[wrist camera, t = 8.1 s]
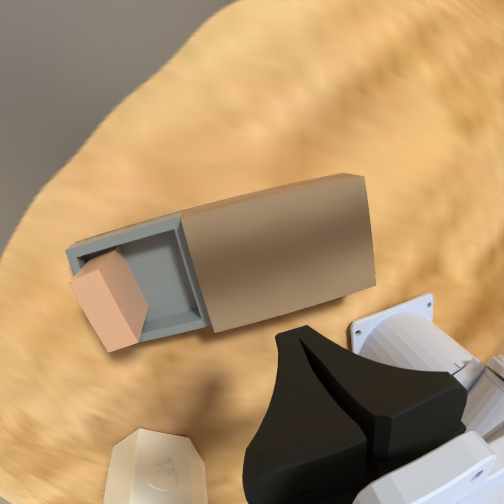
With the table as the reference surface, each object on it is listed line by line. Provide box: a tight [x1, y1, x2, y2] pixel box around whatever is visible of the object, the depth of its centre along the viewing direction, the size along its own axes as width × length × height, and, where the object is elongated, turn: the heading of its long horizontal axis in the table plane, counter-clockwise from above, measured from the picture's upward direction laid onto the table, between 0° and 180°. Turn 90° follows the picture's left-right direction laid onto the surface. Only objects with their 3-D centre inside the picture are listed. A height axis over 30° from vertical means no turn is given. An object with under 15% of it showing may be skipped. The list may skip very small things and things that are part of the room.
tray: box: [65, 211, 212, 343], centre depth 19 cm, size 7×8×2 cm
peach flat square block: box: [68, 245, 149, 353], centre depth 18 cm, size 4×4×2 cm
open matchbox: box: [181, 173, 376, 333], centre depth 20 cm, size 7×10×3 cm, turn 102°
